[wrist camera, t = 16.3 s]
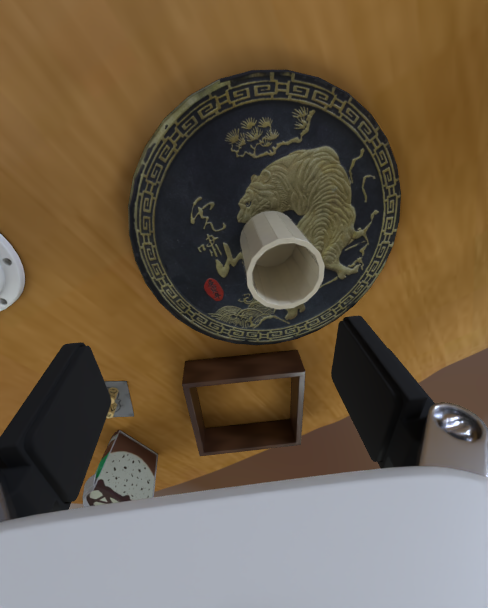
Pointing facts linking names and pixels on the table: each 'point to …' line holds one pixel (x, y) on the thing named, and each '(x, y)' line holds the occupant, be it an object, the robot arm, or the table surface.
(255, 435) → the wooden box
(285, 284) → the cup
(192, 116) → the decorative plate
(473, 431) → the robot arm
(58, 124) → the table surface
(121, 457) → the food container
